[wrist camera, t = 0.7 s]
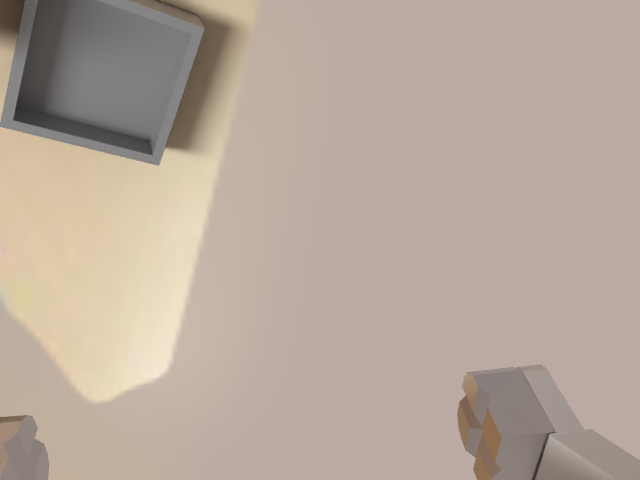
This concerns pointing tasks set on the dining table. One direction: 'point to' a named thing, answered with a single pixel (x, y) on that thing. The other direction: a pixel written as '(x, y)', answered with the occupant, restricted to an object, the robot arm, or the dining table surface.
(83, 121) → the tray
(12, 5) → the dining table surface
